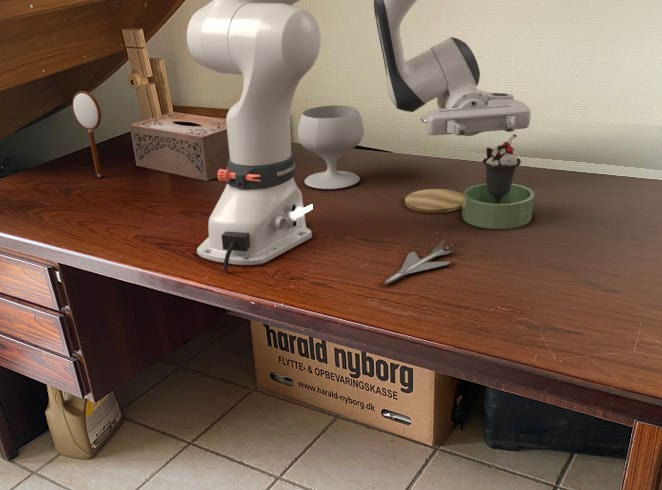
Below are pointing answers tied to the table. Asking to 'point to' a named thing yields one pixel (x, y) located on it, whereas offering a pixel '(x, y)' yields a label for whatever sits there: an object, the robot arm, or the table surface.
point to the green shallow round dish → (497, 207)
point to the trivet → (434, 201)
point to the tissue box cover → (182, 145)
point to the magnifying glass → (88, 119)
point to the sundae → (500, 169)
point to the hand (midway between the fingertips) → (486, 129)
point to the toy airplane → (420, 263)
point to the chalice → (331, 141)
